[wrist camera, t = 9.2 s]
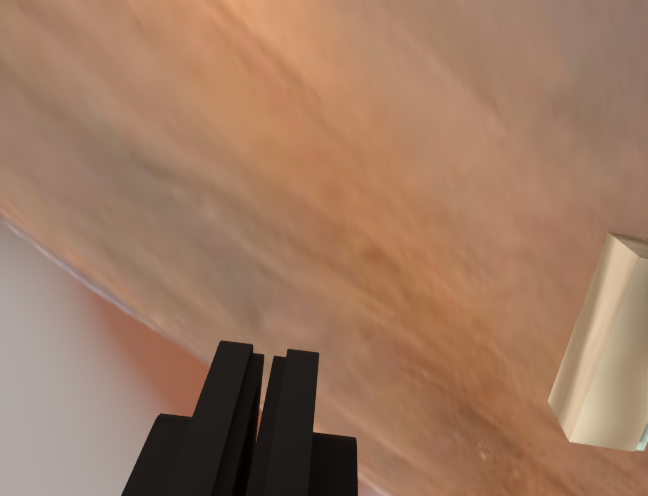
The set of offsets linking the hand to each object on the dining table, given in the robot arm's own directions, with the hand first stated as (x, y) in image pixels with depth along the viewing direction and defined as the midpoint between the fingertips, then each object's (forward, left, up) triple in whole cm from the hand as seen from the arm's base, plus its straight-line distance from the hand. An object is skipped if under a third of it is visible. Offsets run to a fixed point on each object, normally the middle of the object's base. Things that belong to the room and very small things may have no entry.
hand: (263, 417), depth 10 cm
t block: (+9, +23, -25) cm, 35 cm away
